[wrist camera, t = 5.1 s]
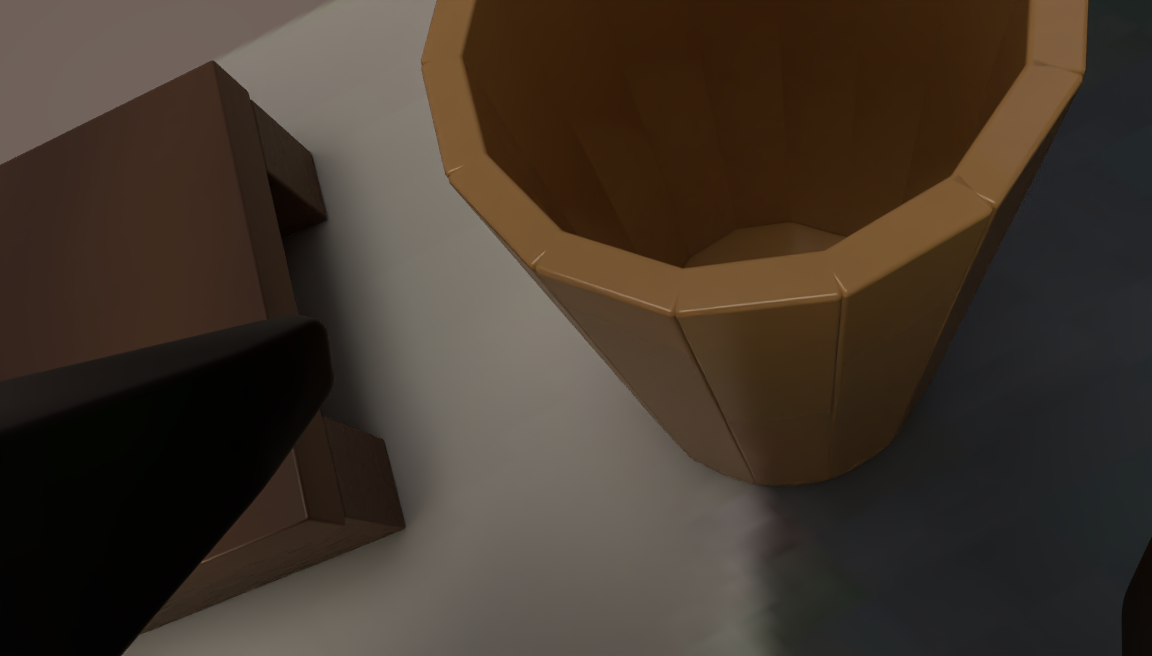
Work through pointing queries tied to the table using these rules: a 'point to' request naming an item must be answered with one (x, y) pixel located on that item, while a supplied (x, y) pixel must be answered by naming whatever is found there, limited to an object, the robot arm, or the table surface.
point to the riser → (185, 293)
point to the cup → (756, 193)
